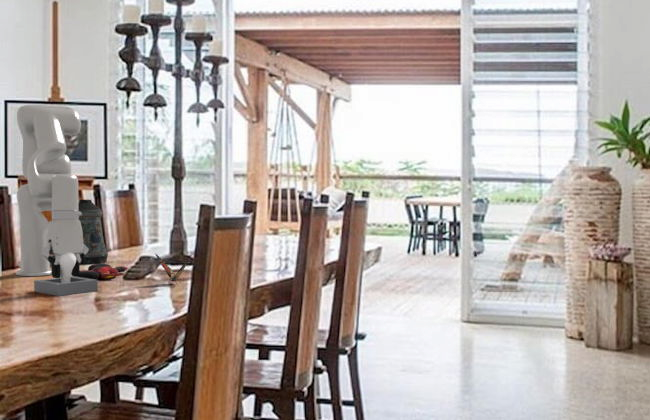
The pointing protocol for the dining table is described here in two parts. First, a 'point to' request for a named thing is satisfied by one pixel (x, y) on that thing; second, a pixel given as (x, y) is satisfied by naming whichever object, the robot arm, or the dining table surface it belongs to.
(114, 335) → the dining table surface
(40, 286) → the socket tray
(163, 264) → the butterfly
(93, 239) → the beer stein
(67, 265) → the lightbulb
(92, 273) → the toy motorcycle
